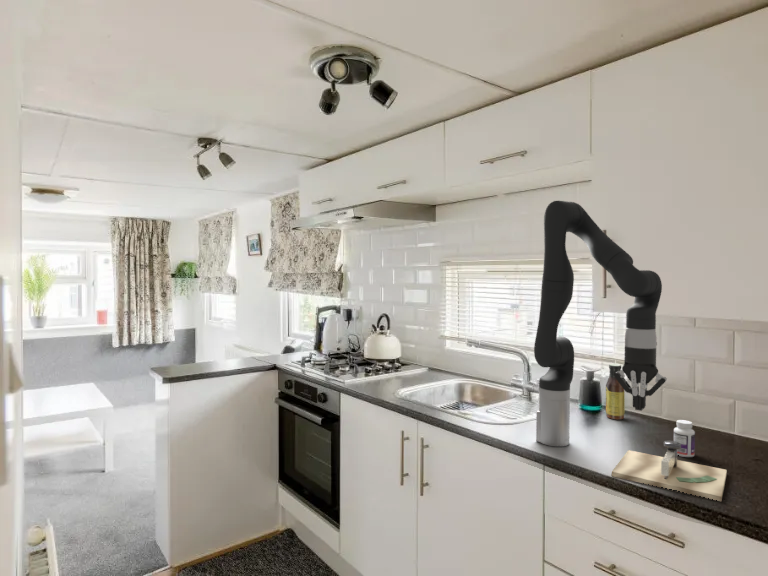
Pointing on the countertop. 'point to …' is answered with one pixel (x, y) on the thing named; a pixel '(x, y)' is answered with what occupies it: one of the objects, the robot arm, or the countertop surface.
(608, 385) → the sauce bottle
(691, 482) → the board
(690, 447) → the pill bottle
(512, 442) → the countertop surface
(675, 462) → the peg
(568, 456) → the countertop surface
